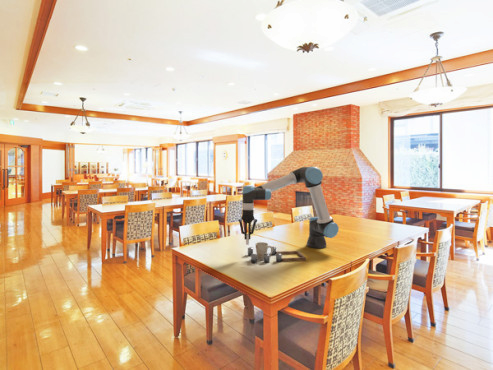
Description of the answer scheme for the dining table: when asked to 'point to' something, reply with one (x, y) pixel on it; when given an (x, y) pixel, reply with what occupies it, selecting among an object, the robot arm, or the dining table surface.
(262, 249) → the mug
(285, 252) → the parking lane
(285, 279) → the dining table surface
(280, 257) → the spacer field
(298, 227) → the dining table surface
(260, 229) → the dining table surface
